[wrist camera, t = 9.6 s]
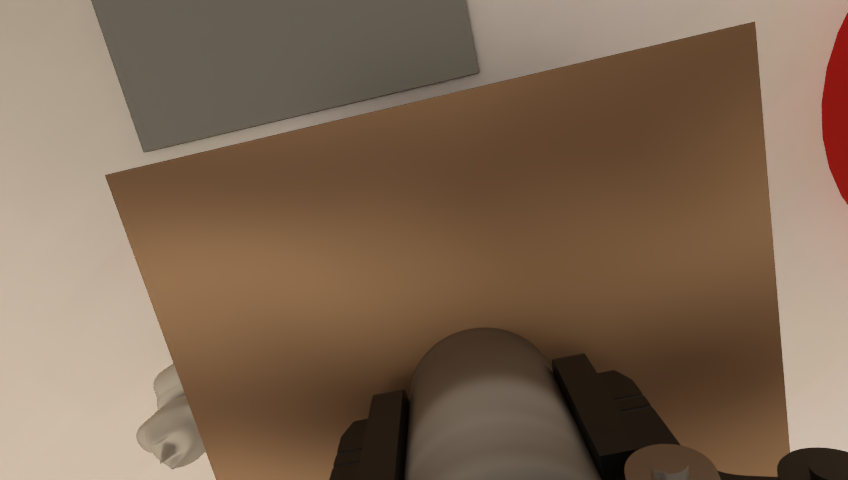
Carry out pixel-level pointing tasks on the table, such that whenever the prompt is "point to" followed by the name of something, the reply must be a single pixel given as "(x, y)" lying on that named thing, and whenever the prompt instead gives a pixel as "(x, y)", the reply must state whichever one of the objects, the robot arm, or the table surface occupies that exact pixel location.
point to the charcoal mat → (273, 58)
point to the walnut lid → (479, 270)
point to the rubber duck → (171, 424)
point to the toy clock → (837, 111)
